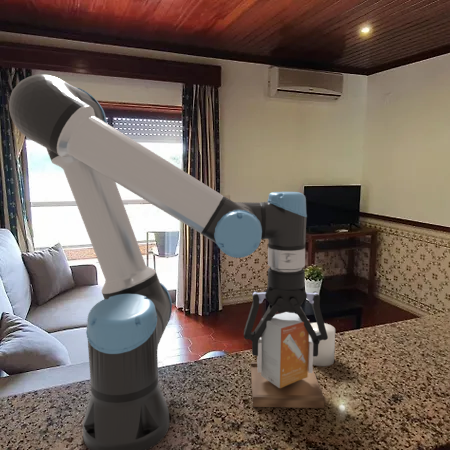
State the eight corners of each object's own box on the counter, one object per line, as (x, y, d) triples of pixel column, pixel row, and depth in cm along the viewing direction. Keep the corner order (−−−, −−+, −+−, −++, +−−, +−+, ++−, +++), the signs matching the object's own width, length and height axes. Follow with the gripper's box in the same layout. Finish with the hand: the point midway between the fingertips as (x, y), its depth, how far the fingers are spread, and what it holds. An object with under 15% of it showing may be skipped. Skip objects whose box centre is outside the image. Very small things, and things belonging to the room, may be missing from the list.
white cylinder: (307, 366, 93) (308, 334, 92) (301, 348, 102) (302, 318, 101) (337, 366, 93) (338, 334, 92) (328, 348, 102) (329, 319, 101)
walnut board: (252, 406, 77) (252, 396, 77) (250, 370, 91) (250, 362, 91) (324, 407, 77) (324, 398, 77) (311, 371, 91) (311, 362, 90)
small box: (280, 389, 79) (280, 328, 77) (260, 376, 84) (260, 318, 82) (308, 377, 83) (310, 319, 81) (288, 365, 89) (289, 310, 87)
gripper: (230, 272, 77) (231, 378, 80) (346, 272, 76) (342, 379, 79) (231, 262, 84) (231, 360, 88) (337, 263, 84) (333, 361, 87)
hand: (284, 369), depth 83 cm, fingers closed on small box, 10 cm apart
